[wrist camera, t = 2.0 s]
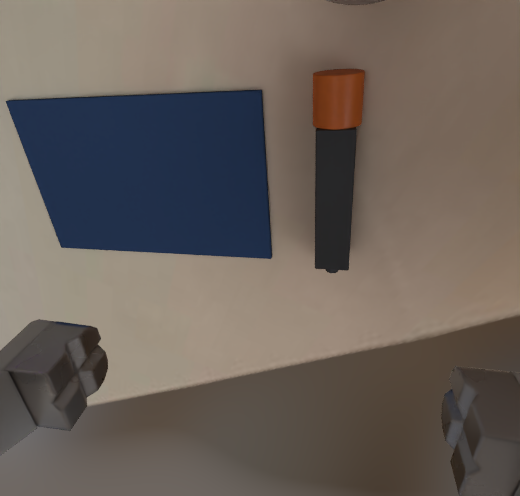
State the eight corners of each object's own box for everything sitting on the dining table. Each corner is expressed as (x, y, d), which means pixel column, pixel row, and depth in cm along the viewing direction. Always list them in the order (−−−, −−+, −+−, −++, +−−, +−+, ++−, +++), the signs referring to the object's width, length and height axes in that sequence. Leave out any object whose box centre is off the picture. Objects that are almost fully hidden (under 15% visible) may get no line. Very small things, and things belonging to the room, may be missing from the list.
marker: (315, 70, 24) (310, 76, 22) (364, 67, 23) (365, 73, 21) (314, 258, 31) (310, 279, 29) (352, 260, 30) (351, 282, 28)
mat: (261, 89, 25) (260, 90, 25) (272, 256, 32) (271, 258, 32) (9, 100, 30) (5, 101, 29) (63, 245, 36) (61, 247, 36)
